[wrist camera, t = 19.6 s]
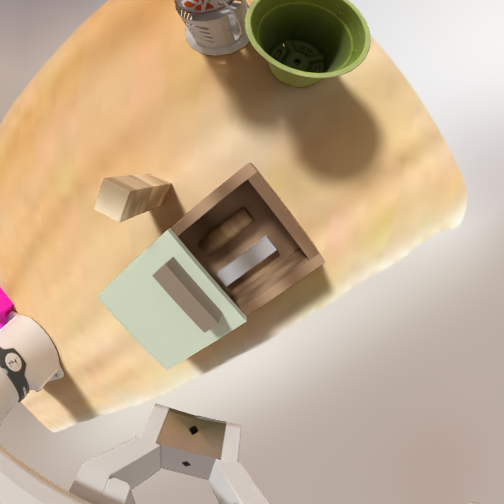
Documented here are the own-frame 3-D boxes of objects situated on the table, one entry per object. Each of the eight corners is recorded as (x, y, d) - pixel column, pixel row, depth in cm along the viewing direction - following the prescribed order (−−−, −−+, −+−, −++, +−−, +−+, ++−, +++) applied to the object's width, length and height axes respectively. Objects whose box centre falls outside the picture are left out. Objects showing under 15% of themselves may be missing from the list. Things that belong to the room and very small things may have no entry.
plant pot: (334, 29, 27) (358, -11, 16) (344, 105, 31) (379, 83, 20) (246, 28, 28) (241, -18, 17) (252, 105, 31) (248, 78, 20)
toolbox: (200, 324, 40) (189, 352, 34) (141, 257, 38) (119, 275, 31) (314, 244, 36) (325, 262, 29) (252, 163, 33) (249, 162, 27)
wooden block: (162, 205, 35) (119, 222, 24) (142, 195, 35) (94, 209, 24) (171, 183, 35) (130, 191, 23) (151, 173, 34) (103, 178, 23)
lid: (168, 365, 34) (161, 382, 31) (101, 293, 32) (87, 305, 28) (246, 317, 31) (244, 333, 28) (170, 227, 29) (158, 235, 25)
